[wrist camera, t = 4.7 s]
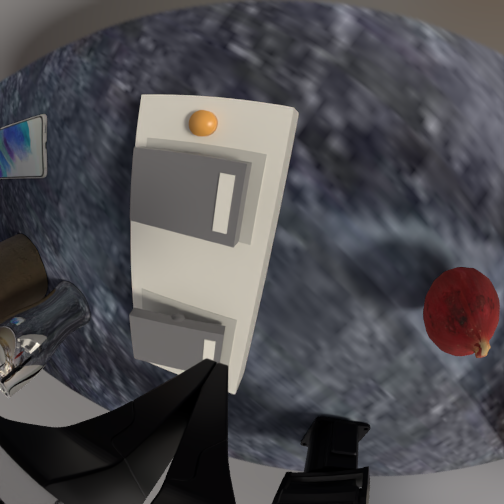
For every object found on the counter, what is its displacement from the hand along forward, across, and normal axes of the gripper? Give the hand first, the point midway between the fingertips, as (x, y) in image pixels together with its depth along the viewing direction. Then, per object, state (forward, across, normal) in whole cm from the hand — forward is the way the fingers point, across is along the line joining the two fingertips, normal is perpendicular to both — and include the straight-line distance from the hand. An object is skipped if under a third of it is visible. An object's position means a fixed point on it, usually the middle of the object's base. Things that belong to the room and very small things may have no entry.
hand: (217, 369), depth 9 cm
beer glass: (+13, +23, +13) cm, 29 cm away
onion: (+13, -14, -1) cm, 19 cm away
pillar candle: (+12, +33, +11) cm, 37 cm away
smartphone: (+13, +33, -5) cm, 36 cm away
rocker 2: (+8, +6, +8) cm, 12 cm away
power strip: (+12, +6, +5) cm, 15 cm away
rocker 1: (+8, +5, -4) cm, 10 cm away
